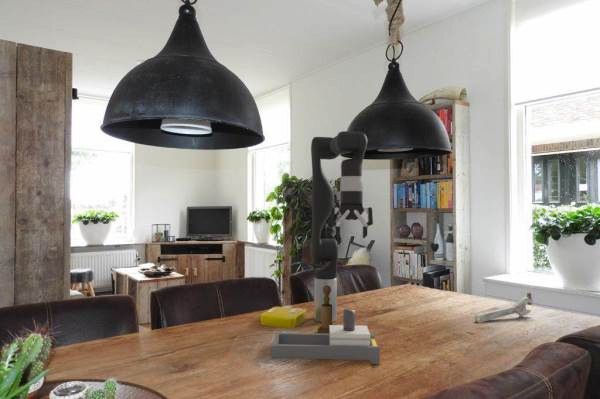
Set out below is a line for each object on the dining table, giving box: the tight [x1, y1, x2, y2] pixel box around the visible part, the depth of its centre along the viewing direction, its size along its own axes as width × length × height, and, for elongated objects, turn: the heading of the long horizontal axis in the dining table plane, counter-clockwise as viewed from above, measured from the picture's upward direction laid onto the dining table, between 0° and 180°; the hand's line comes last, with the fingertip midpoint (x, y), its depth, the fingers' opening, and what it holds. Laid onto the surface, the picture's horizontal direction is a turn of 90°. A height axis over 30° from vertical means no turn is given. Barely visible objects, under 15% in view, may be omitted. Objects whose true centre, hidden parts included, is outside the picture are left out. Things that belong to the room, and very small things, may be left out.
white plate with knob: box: [329, 308, 371, 346], centre depth 129 cm, size 9×12×13 cm
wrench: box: [474, 296, 534, 323], centre depth 173 cm, size 8×2×30 cm
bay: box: [271, 332, 381, 365], centre depth 129 cm, size 12×32×5 cm, turn 88°
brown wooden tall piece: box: [317, 286, 333, 334], centre depth 150 cm, size 7×6×18 cm
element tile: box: [260, 306, 307, 329], centre depth 167 cm, size 15×15×5 cm
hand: (351, 237), depth 141 cm, fingers open, 8 cm apart
